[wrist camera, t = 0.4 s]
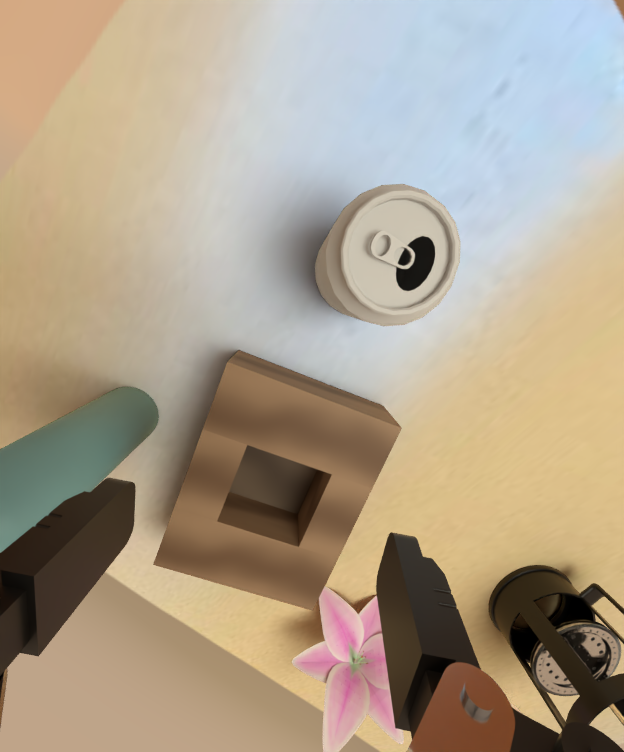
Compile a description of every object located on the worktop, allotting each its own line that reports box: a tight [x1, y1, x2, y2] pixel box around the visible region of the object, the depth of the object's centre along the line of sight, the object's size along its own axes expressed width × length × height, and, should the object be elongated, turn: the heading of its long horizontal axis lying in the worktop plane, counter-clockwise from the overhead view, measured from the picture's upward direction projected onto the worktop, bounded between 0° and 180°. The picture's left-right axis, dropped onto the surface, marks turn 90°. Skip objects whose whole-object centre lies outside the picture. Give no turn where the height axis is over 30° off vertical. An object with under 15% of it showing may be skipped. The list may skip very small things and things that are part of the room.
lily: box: [292, 586, 404, 752], centre depth 34 cm, size 12×12×10 cm
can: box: [315, 184, 460, 326], centre depth 23 cm, size 8×8×12 cm
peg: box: [0, 387, 159, 553], centre depth 23 cm, size 5×5×16 cm
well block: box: [153, 350, 401, 611], centre depth 30 cm, size 18×14×6 cm
